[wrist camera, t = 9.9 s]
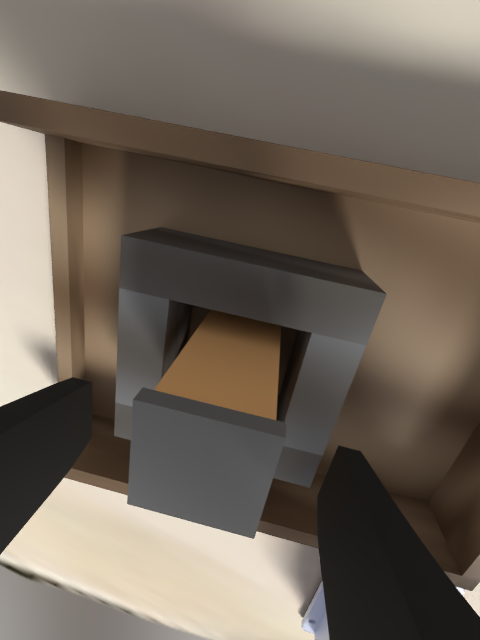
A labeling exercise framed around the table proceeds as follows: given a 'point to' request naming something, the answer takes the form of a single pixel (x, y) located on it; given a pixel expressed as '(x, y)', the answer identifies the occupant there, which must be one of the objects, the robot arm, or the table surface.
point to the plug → (211, 428)
